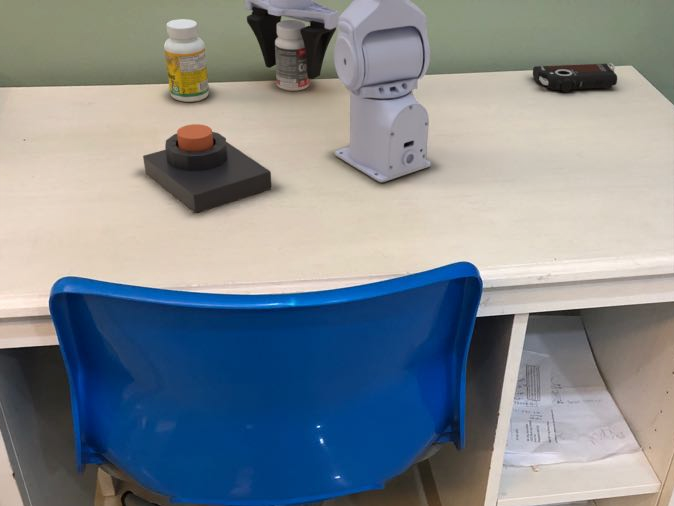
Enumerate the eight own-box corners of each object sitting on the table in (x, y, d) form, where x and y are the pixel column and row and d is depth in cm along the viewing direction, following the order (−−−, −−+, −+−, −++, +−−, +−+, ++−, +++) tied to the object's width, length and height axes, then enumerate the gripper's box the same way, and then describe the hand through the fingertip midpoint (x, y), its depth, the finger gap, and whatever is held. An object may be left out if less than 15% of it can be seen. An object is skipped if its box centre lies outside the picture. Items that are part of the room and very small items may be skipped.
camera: (620, 75, 123) (545, 78, 123) (616, 93, 125) (542, 96, 125) (607, 55, 128) (534, 58, 127) (603, 74, 130) (531, 77, 129)
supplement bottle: (212, 100, 119) (205, 28, 113) (173, 104, 118) (164, 31, 112) (205, 86, 123) (198, 15, 117) (167, 90, 122) (158, 18, 116)
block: (271, 188, 100) (270, 156, 98) (195, 213, 96) (191, 179, 93) (218, 152, 107) (215, 120, 105) (145, 173, 103) (140, 140, 100)
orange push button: (220, 147, 100) (218, 133, 99) (189, 156, 98) (187, 141, 97) (202, 135, 102) (201, 121, 101) (172, 143, 100) (170, 129, 99)
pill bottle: (305, 92, 122) (303, 31, 117) (272, 89, 123) (269, 28, 118) (313, 80, 126) (312, 20, 120) (281, 77, 127) (279, 17, 121)
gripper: (227, -36, 115) (235, 68, 123) (316, -17, 109) (318, 91, 118) (260, -47, 119) (265, 54, 128) (348, -29, 113) (347, 75, 122)
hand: (292, 71), depth 123 cm, fingers open, 7 cm apart
